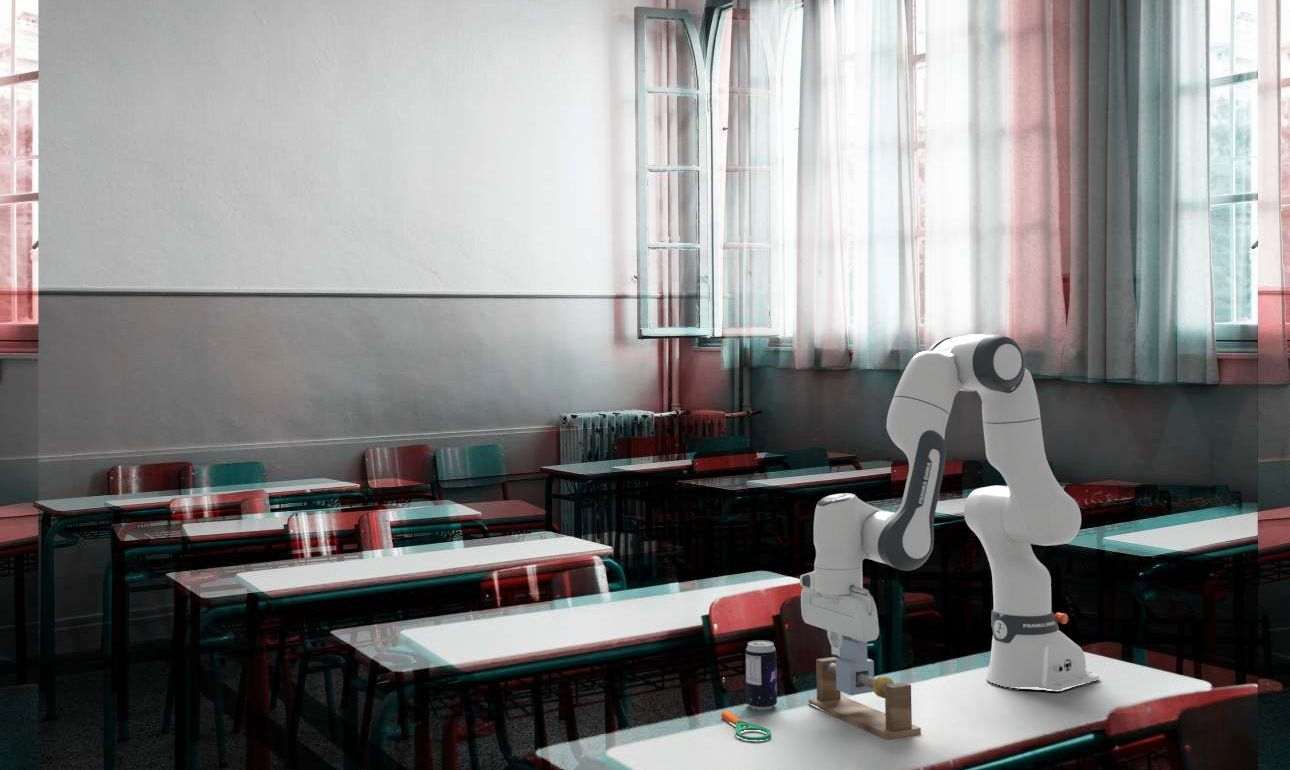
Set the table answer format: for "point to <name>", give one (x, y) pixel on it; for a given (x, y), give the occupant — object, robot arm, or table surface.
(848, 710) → the wooden rod rail
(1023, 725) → the table surface
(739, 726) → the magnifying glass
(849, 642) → the stacked grey blocks
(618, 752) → the table surface
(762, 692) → the beverage can
